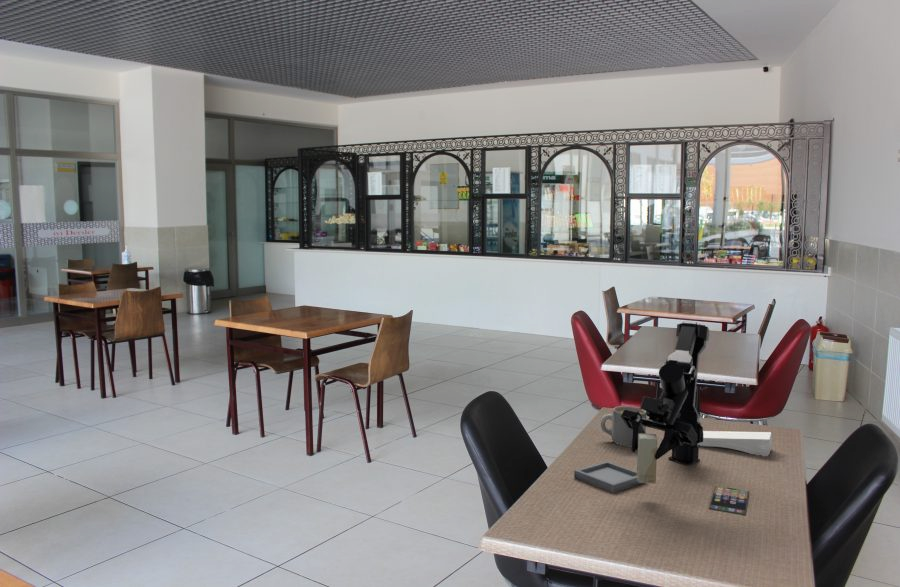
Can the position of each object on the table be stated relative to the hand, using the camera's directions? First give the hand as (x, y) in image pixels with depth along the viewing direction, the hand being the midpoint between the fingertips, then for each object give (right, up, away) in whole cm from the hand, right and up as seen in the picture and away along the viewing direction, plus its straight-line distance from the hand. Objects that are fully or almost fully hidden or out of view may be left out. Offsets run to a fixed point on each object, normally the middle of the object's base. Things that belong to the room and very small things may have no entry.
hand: (643, 455), depth 175 cm
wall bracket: (+36, -8, +45) cm, 58 cm away
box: (+1, -7, +2) cm, 7 cm away
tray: (-5, -10, +14) cm, 18 cm away
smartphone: (+21, -12, +1) cm, 24 cm away
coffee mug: (+6, -7, +48) cm, 49 cm away
